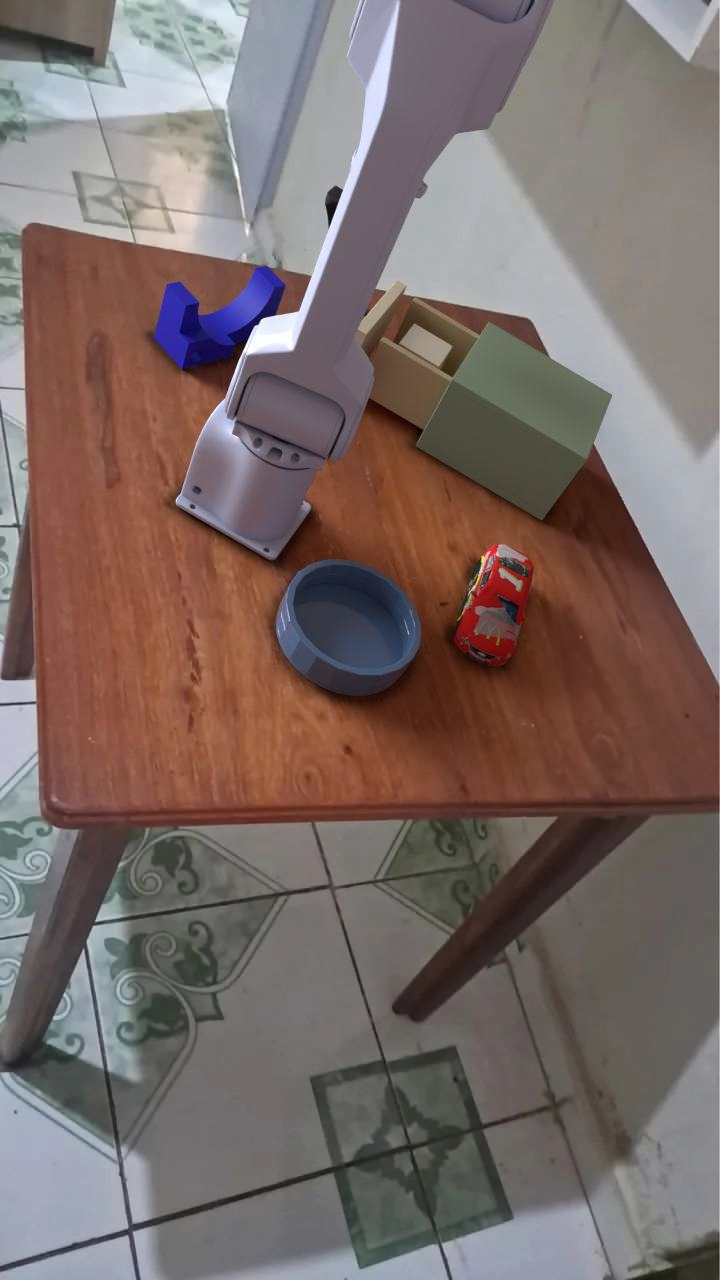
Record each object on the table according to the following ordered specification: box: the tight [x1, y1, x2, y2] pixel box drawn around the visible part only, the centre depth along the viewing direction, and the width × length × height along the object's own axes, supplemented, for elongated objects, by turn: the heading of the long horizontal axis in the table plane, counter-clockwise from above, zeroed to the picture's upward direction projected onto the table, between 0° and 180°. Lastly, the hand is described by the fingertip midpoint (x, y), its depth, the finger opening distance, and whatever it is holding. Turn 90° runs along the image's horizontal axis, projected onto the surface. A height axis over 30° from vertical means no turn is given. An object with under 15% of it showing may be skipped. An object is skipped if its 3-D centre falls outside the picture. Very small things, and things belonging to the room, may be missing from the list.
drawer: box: [355, 279, 481, 431], centre depth 95 cm, size 17×11×7 cm, turn 67°
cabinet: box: [415, 321, 613, 521], centre depth 96 cm, size 15×13×9 cm
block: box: [399, 324, 453, 370], centre depth 95 cm, size 4×4×4 cm
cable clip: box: [153, 265, 287, 370], centre depth 91 cm, size 12×4×6 cm, turn 133°
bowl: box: [275, 558, 422, 697], centre depth 76 cm, size 11×11×3 cm
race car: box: [451, 543, 535, 667], centre depth 83 cm, size 13×5×4 cm, turn 160°
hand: (350, 256), depth 91 cm, fingers open, 7 cm apart
